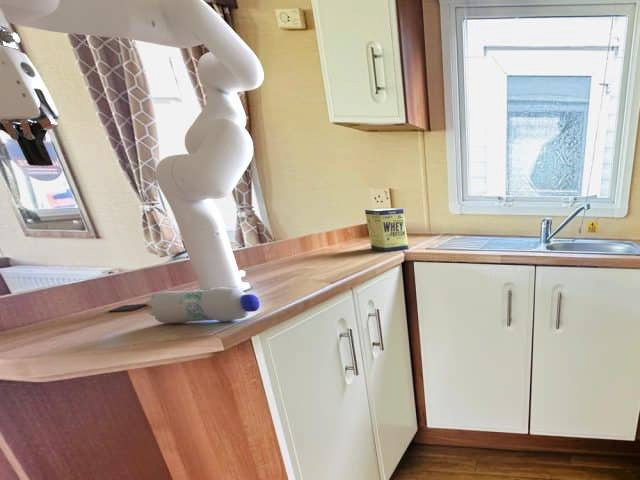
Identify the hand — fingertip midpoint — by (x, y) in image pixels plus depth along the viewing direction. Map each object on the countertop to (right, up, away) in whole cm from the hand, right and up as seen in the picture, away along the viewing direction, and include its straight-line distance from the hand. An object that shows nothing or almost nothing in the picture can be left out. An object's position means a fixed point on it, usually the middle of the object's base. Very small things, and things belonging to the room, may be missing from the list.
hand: (41, 165), depth 78 cm
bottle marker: (-2, -23, +20) cm, 30 cm away
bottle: (+16, -25, +6) cm, 31 cm away
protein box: (+35, +17, +101) cm, 108 cm away
